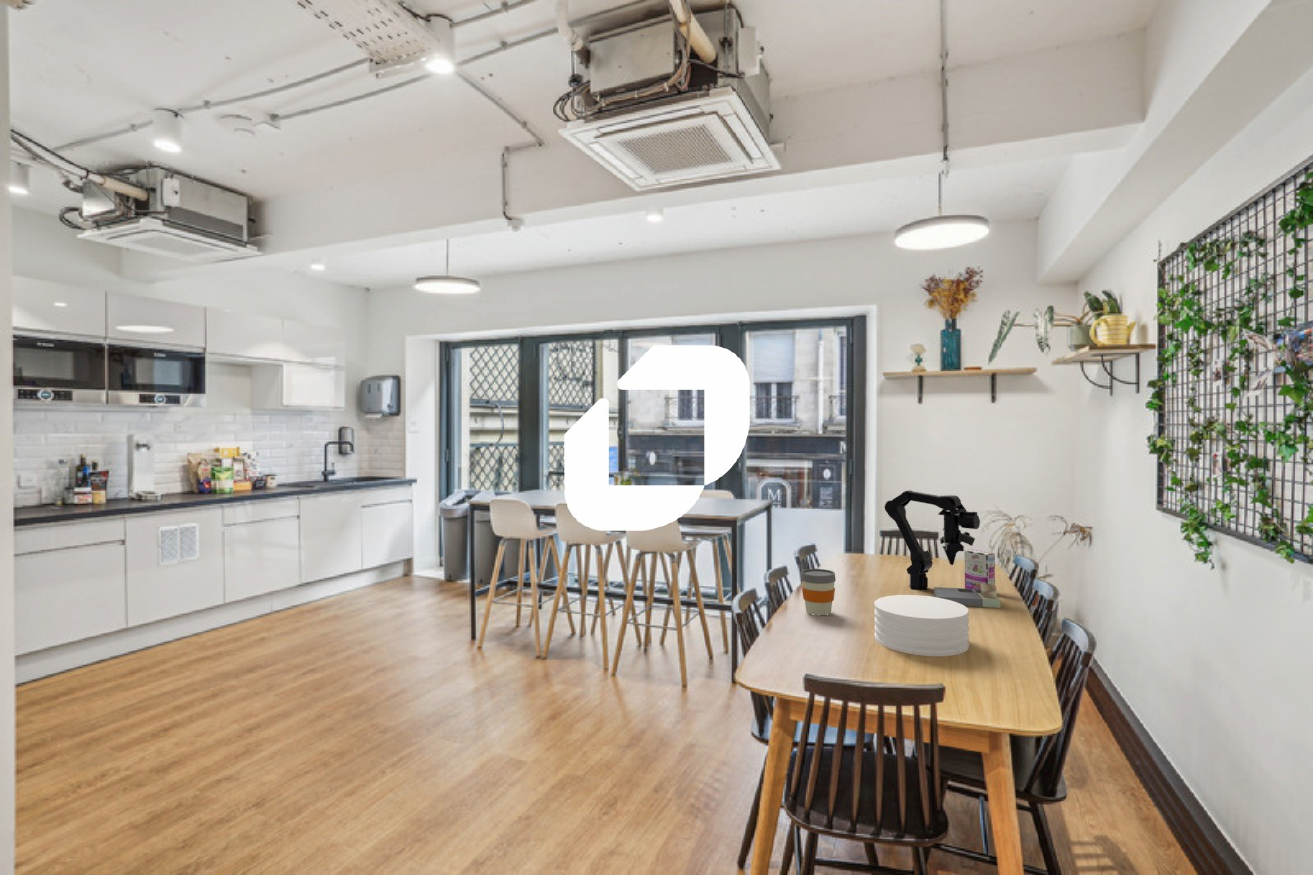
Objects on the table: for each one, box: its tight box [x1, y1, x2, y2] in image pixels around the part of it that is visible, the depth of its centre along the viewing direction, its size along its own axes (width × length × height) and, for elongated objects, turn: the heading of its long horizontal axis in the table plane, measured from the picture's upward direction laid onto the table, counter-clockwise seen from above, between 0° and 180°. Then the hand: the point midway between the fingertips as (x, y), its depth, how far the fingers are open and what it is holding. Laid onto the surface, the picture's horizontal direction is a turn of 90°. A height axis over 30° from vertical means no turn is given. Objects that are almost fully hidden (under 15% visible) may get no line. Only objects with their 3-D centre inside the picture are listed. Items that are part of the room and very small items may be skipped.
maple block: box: [981, 583, 998, 599], centre depth 252 cm, size 4×4×4 cm
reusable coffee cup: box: [800, 568, 836, 616], centre depth 244 cm, size 13×13×15 cm
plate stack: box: [873, 594, 970, 657], centre depth 210 cm, size 28×28×12 cm
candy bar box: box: [964, 549, 996, 589], centre depth 272 cm, size 11×5×16 cm, turn 25°
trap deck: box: [933, 586, 1001, 609], centre depth 257 cm, size 21×16×3 cm
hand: (951, 564), depth 268 cm, fingers closed
